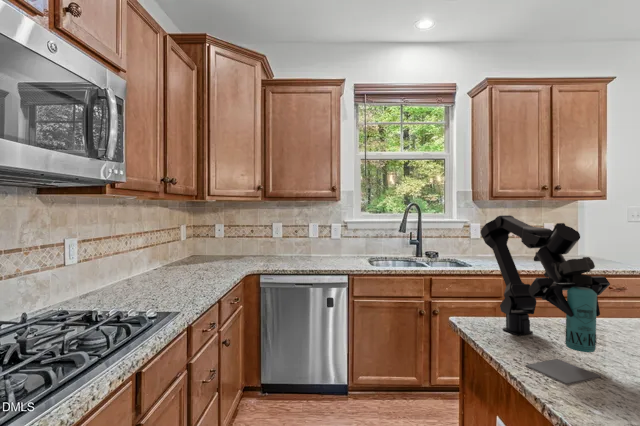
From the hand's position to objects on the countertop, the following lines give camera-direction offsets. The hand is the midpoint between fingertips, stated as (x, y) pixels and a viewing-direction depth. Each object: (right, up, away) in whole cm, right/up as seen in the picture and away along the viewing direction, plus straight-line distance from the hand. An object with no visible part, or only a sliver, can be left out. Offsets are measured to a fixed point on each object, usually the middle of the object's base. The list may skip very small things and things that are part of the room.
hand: (585, 315), depth 92 cm
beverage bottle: (0, -10, +1) cm, 10 cm away
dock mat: (-6, -13, -1) cm, 15 cm away
